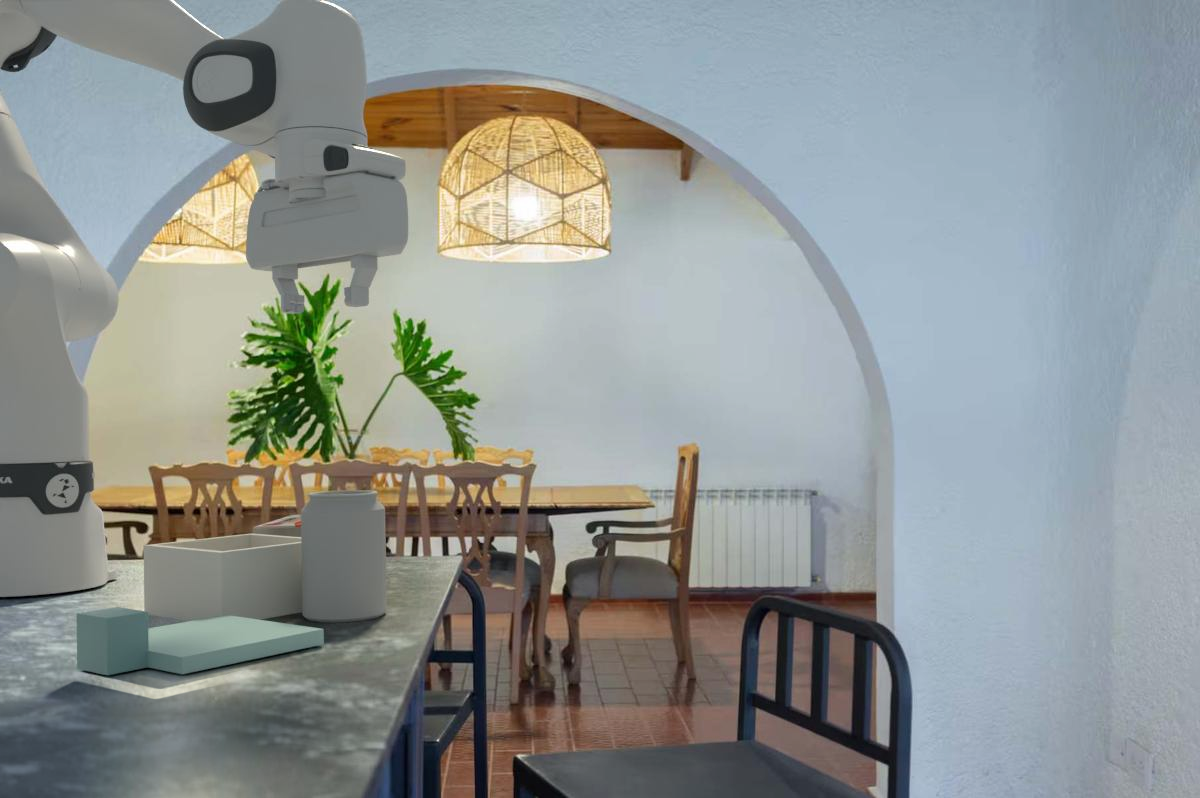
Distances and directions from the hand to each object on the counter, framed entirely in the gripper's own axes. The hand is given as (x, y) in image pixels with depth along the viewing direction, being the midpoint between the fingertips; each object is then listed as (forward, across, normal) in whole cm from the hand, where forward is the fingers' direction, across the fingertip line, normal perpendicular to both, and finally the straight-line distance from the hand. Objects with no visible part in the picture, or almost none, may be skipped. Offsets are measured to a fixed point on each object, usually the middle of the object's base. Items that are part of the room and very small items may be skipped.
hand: (324, 309), depth 113 cm
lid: (+29, +10, -22) cm, 38 cm away
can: (+29, +6, -4) cm, 30 cm away
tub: (+29, -5, -7) cm, 30 cm away
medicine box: (+30, -12, +8) cm, 33 cm away
